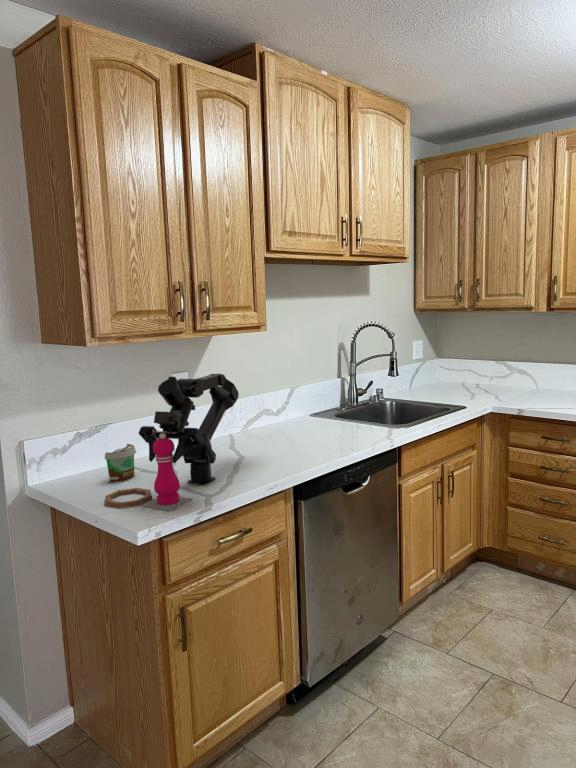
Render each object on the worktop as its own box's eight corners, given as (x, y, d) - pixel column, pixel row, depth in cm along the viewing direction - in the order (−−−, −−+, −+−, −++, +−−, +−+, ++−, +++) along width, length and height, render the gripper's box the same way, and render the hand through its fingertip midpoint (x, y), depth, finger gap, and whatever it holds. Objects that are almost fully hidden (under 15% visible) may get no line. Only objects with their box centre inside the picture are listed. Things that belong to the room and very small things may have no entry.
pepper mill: (173, 506, 165) (167, 436, 162) (150, 505, 167) (144, 435, 164) (185, 497, 172) (179, 430, 169) (163, 496, 174) (157, 429, 171)
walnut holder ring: (127, 490, 183) (127, 486, 183) (160, 495, 177) (160, 491, 176) (95, 504, 172) (95, 500, 171) (129, 510, 165) (129, 505, 165)
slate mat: (165, 495, 176) (165, 494, 176) (192, 499, 172) (192, 498, 171) (142, 506, 168) (142, 505, 168) (170, 511, 163) (170, 509, 163)
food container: (122, 484, 189) (120, 454, 187) (107, 483, 191) (104, 452, 190) (145, 473, 200) (143, 444, 199) (130, 472, 202) (127, 443, 201)
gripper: (139, 398, 172) (119, 445, 163) (196, 399, 166) (179, 448, 157) (156, 419, 181) (138, 465, 172) (211, 421, 174) (195, 468, 166)
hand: (161, 461), depth 166 cm, fingers open, 7 cm apart
